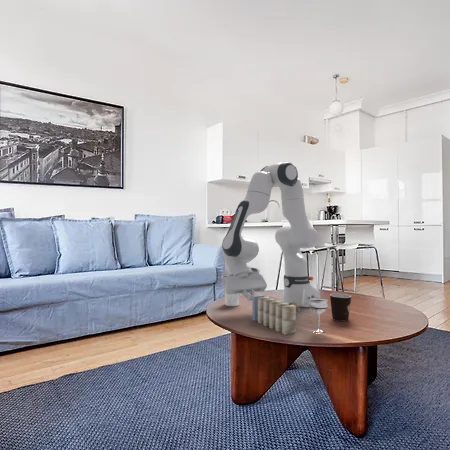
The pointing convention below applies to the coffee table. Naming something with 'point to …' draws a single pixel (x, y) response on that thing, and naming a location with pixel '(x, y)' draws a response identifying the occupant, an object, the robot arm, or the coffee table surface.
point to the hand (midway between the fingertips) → (251, 299)
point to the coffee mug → (340, 306)
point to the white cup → (231, 299)
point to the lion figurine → (296, 306)
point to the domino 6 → (288, 319)
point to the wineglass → (318, 308)
